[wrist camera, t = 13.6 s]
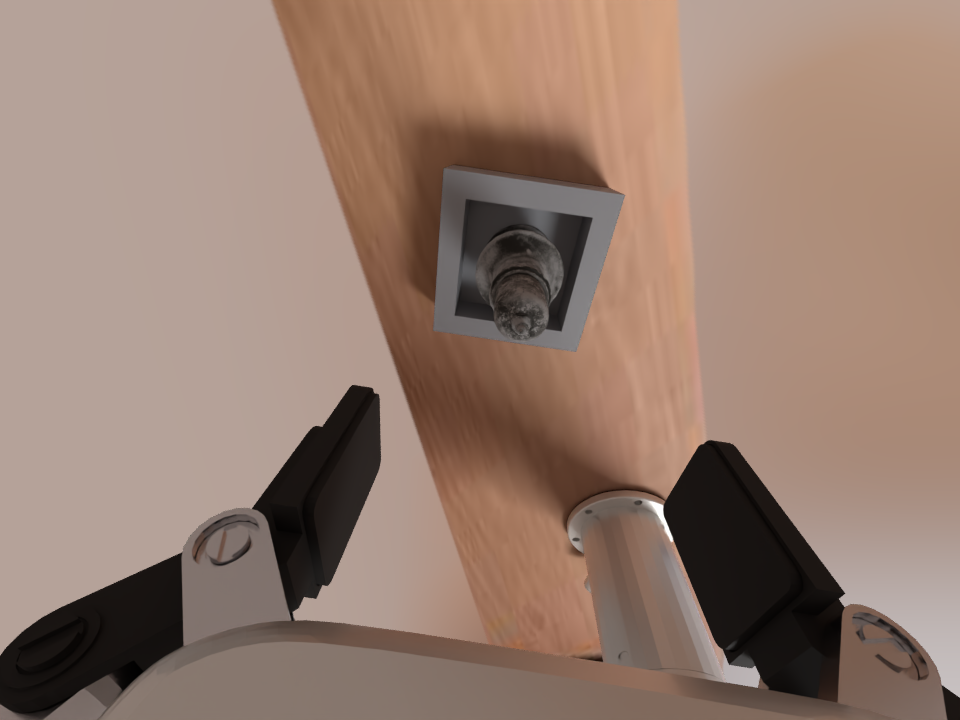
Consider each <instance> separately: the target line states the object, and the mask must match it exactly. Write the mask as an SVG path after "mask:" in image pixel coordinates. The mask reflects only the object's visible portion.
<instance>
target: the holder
mask: <svg viewBox="0 0 960 720" xmlns="http://www.w3.org/2000/svg"><path fill="white" fill-rule="evenodd" d="M624 197H625V195H624V194H622V193H619V192H617V191H615V190H613V189H611V188H606V187H600V186H593V185H586V184H579V183H573V182H566V181H559V180H552V179H546V178H539V177H532V176H526V175H519V174H512V173H505V172H499V171H492V170H485V169H478V168H472V167H465V166H458V165H451V166H448V167H445V168H444V170H443V185H442V201H441V217H440V232H439V248H438V264H437V279H436V295H435V311H434V326H433V331H439V332H445V333H452V334H459V335H466V336H472V337H479V338H486V339H492V340H499V341H506V342H513V343H519V344H526V345H533V346H540V347H546V348H553V349H560V350H567V351H573V352H576V351H577V348H578V345H579V341H580V338H581V335H582V332H583V329H584V325H585V322H586V319H587V316H588V313H589V309H590V306H591V303H592V300H593V297H594V293H595V290H596V287H597V284H598V280H599V277H600V274H601V271H602V268H603V264H604V261H605V258H606V255H607V252H608V248H609V245H610V242H611V239H612V236H613V232H614V229H615V226H616V223H617V219H618V216H619V213H620V210H621V207H622V203H623V200H624ZM516 224H523V225H530V226H532V227H534V228H537V229H538V230H540V231H541V232H542V233H543V234H544V235H545V236H546V237H547V239H548V240H549V241H551V242H552V243H553V244H554V246H555V247H556V249H557V250H558V252H559V253H560V256H561V259H562V262H563V271H564V276H563V281H562V285H561V288H560V290H559V292H558V293H557V295H556V297H555V298H554V299H553V300H552V301H551V303H550V306H549V308H548V310H549V319H548V324H547V326H546V328H545V330H544V332H543V333H542V334H541V335H540V336H539V337H537V338H535V339H534V340H531V341H528V342H516V341H512V340H509V339H507V338H506V337H504V336H503V335H502V334H501V333H500V332H499V330H498V329H497V327H496V324H495V322H494V316H493V315H494V311H493V309H492V307H491V306H490V305H488V304H487V302H486V301H485V300H484V299H483V298H482V296H481V294H480V292H479V290H478V288H477V283H476V277H475V274H476V264H477V262H478V259H479V256H480V254H481V252H482V251H483V249H484V248H485V247H486V245H487V244H488V242H489V241H490V239H491V238H492V237H493V235H495V234H496V233H497V232H498V231H500V230H501V229H503V228H505V227H507V226H510V225H516Z"/></svg>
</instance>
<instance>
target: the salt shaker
mask: <svg viewBox="0 0 960 720" xmlns="http://www.w3.org/2000/svg"><path fill="white" fill-rule="evenodd" d="M563 276H564V271H563V262H562V259H561V256H560V253H559V252H558V250H557V249H556V247H555V246H554V244H553V243H552V242H551V241H549V240H548V239H547V237H546V236H545V235H544V234H543V233H542V232H541V231H540V230H538V229H537V228H534V227H532V226H530V225H523V224H516V225H510V226H507V227H505V228H503V229H501V230H500V231H498V232H497V233H496V234H495V235H493V237H492V238H491V239H490V241H489V242H488V244H487V245H486V247H485V248H484V249H483V251H482V252H481V254H480V256H479V259H478V262H477V264H476V274H475V277H476V283H477V288H478V290H479V292H480V294H481V296H482V298H483V299H484V300H485V301H486V302H487V304H488V305H490V306H491V307H492V309H493V311H494V315H493V316H494V322H495V324H496V327H497V329H498V330H499V332H500V333H501V334H502V335H503V336H504V337H506V338H507V339H509V340H512V341H516V342H528V341H531V340H534V339H535V338H537V337H539V336H540V335H541V334H542V333H543V332H544V330H545V328H546V326H547V324H548V319H549V310H548V308H549V306H550V303H551V301H552V300H553V299H554V298H555V297H556V295H557V293H558V292H559V290H560V288H561V285H562V281H563Z"/></svg>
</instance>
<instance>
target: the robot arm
mask: <svg viewBox="0 0 960 720" xmlns="http://www.w3.org/2000/svg"><path fill="white" fill-rule="evenodd" d="M380 450H381V446H380V399H379V394H375V393H374V392H373V389H372V388H369V387H362V386H357V385H352V386H351V387H350V388H349V390H348V391H347V393H346V394H345V395H344V397H343V398H342V399H341V401H340V402H339V404H338V405H337V407H336V408H335V409H334V411H333V412H332V414H331V415H330V417H329V418H328V419H327V421H326V422H325V424H324V425H323V427H320V426H315V427H313V428H312V429H311V430H310V431H309V432H308V433H307V434H306V436H305V437H304V439H303V440H302V441H301V443H300V444H299V445H298V447H297V448H296V449H295V451H294V452H293V453H292V455H291V456H290V458H289V459H288V460H287V462H286V463H285V464H284V466H283V467H282V468H281V470H280V471H279V473H278V474H277V475H276V477H275V478H274V479H273V481H272V482H271V483H270V485H269V486H268V488H267V489H266V490H265V492H264V493H263V494H262V496H261V497H260V498H259V500H258V501H257V502H256V504H255V505H254V507H253V508H252V509H250V508H236V509H232V510H229V511H224V512H222V513H220V514H218V515H216V516H214V517H212V518H210V519H208V520H207V521H206V522H204V523H203V524H201V525H200V526H199V527H198V528H197V529H196V530H195V531H194V532H193V533H192V534H191V535H190V537H189V539H188V540H187V542H186V544H185V545H184V548H183V552H182V553H180V554H178V555H175V556H173V557H171V558H169V559H167V560H164V561H162V562H160V563H158V564H156V565H153V566H151V567H149V568H147V569H144V570H142V571H140V572H138V573H136V574H133V575H131V576H129V577H127V578H125V579H123V580H120V581H118V582H116V583H114V584H112V585H109V586H107V587H105V588H103V589H100V590H98V591H96V592H94V593H92V594H90V595H87V596H85V597H83V598H81V599H78V600H76V601H74V602H72V603H70V604H67V605H65V606H63V607H61V608H59V609H57V610H55V611H53V612H52V613H50V614H48V615H46V616H44V617H42V618H41V619H39V620H38V621H37V622H35V623H34V624H32V625H31V626H30V627H28V628H27V629H26V630H24V631H23V632H22V633H21V634H20V635H19V636H18V637H17V638H16V639H15V640H14V641H13V642H11V643H10V644H9V646H7V647H6V649H5V650H4V651H3V653H2V654H1V655H0V720H960V698H959V697H958V696H956V695H955V694H954V693H952V692H951V691H949V690H948V689H947V688H945V687H944V686H942V685H941V679H940V676H939V673H938V670H937V667H936V665H935V664H934V662H933V661H932V659H931V658H930V656H929V655H928V653H927V652H926V651H925V650H924V648H923V647H922V646H921V645H920V644H919V643H918V642H917V641H916V639H915V638H913V637H912V636H911V635H910V634H909V633H908V632H907V631H906V630H904V629H903V628H902V627H901V626H899V625H898V624H897V623H895V622H894V621H893V620H891V619H890V618H888V617H887V616H885V615H883V614H881V613H880V612H878V611H876V610H874V609H872V608H869V607H866V606H863V605H857V604H850V605H848V606H846V607H844V606H843V605H842V603H841V602H840V600H839V598H840V597H841V596H843V595H844V594H845V593H844V591H843V590H842V589H841V587H840V586H839V585H838V583H837V582H836V581H835V579H834V578H833V577H832V576H831V574H830V572H829V571H828V570H827V569H826V567H825V566H824V564H823V563H822V562H821V561H820V559H819V558H818V556H817V555H816V554H815V552H814V551H813V550H812V548H811V547H810V546H809V545H808V543H807V542H806V540H805V539H804V538H803V536H802V535H801V534H800V532H799V531H798V530H797V528H796V527H795V526H794V525H793V523H792V522H791V520H790V519H789V518H788V516H787V515H786V514H785V512H784V511H783V510H782V508H781V507H780V506H779V504H778V503H777V502H776V500H775V499H774V498H773V496H772V495H771V493H770V492H769V491H768V489H767V488H766V487H765V485H764V484H763V483H762V481H761V480H760V479H759V477H758V476H757V475H756V473H755V472H754V471H753V469H752V468H751V467H750V465H749V464H748V463H747V461H745V459H744V457H743V456H742V455H741V453H740V452H739V451H738V449H737V448H736V447H735V446H734V445H733V444H730V443H725V442H718V441H712V440H709V441H707V442H705V444H701V445H700V446H699V447H698V448H697V450H696V452H695V453H694V455H693V456H692V458H691V460H690V461H689V463H688V465H687V466H686V468H685V470H684V471H683V473H682V475H681V476H680V478H679V480H678V481H677V483H676V485H675V486H674V488H673V490H672V491H671V493H670V495H669V496H668V498H667V500H666V501H664V500H662V499H660V498H658V497H657V496H654V495H651V494H648V493H645V492H639V491H630V490H620V491H611V492H606V493H602V494H599V495H596V496H593V497H591V498H589V499H587V500H585V501H583V502H582V503H581V504H579V505H578V506H577V507H576V508H575V509H574V510H573V511H572V512H571V514H570V515H569V517H568V521H567V532H568V537H569V540H570V541H571V543H572V545H573V546H574V547H575V548H576V549H578V550H579V551H580V552H582V553H583V554H585V560H586V566H587V571H588V575H587V577H586V579H585V582H584V585H585V588H586V589H587V590H588V591H589V592H590V593H591V594H592V600H593V606H594V611H595V617H596V623H597V628H598V634H599V640H600V645H601V651H602V657H603V662H597V661H590V660H584V659H578V658H572V657H565V656H559V655H553V654H546V653H540V652H534V651H528V650H521V649H515V648H508V647H502V646H495V645H489V644H482V643H476V642H470V641H463V640H457V639H450V638H444V637H437V636H431V635H424V634H418V633H411V632H404V631H396V630H389V629H381V628H374V627H367V626H359V625H351V624H344V623H332V622H320V621H307V620H304V621H295V619H294V615H293V611H295V610H296V609H298V608H299V606H300V604H301V602H302V600H303V598H304V597H308V598H315V599H316V598H317V596H318V594H319V591H320V589H321V587H322V585H325V586H328V585H329V584H330V582H331V581H332V578H333V576H334V574H335V572H336V569H337V567H338V565H339V562H340V560H341V558H342V555H343V553H344V550H345V548H346V546H347V543H348V541H349V539H350V536H351V534H352V532H353V529H354V527H355V525H356V522H357V520H358V518H359V515H360V513H361V510H362V508H363V506H364V504H365V501H366V499H367V496H368V494H369V492H370V489H371V487H372V485H373V483H374V480H375V478H376V475H377V473H378V470H379V467H380V462H381V451H380ZM673 540H674V542H675V545H676V547H677V550H678V552H679V555H680V557H681V560H682V562H683V564H684V567H685V569H686V572H687V574H688V577H689V579H690V582H691V584H692V587H693V589H694V591H695V594H696V596H697V599H698V601H699V604H700V606H701V609H702V611H703V613H704V616H705V618H706V621H707V623H708V626H709V628H710V631H711V633H712V636H713V638H714V640H715V642H716V644H717V645H718V646H719V647H720V648H721V649H723V651H724V654H725V656H726V658H727V661H728V663H729V665H734V666H741V667H747V668H753V667H754V666H756V668H757V670H758V672H759V674H760V681H759V685H758V688H755V687H748V686H743V685H737V684H731V683H727V682H726V680H725V677H724V674H723V672H722V669H721V667H720V664H719V662H718V659H717V657H716V654H715V652H714V649H713V647H712V644H711V642H710V639H709V637H708V634H707V632H706V629H705V627H704V624H703V622H702V619H701V617H700V614H699V612H698V609H697V607H696V604H695V602H694V599H693V597H692V594H691V592H690V589H689V587H688V584H687V582H686V579H685V577H684V574H683V571H682V569H681V566H680V564H679V561H678V559H677V556H676V554H675V551H674V549H673V546H672V544H671V542H672V541H673Z"/></svg>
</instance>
